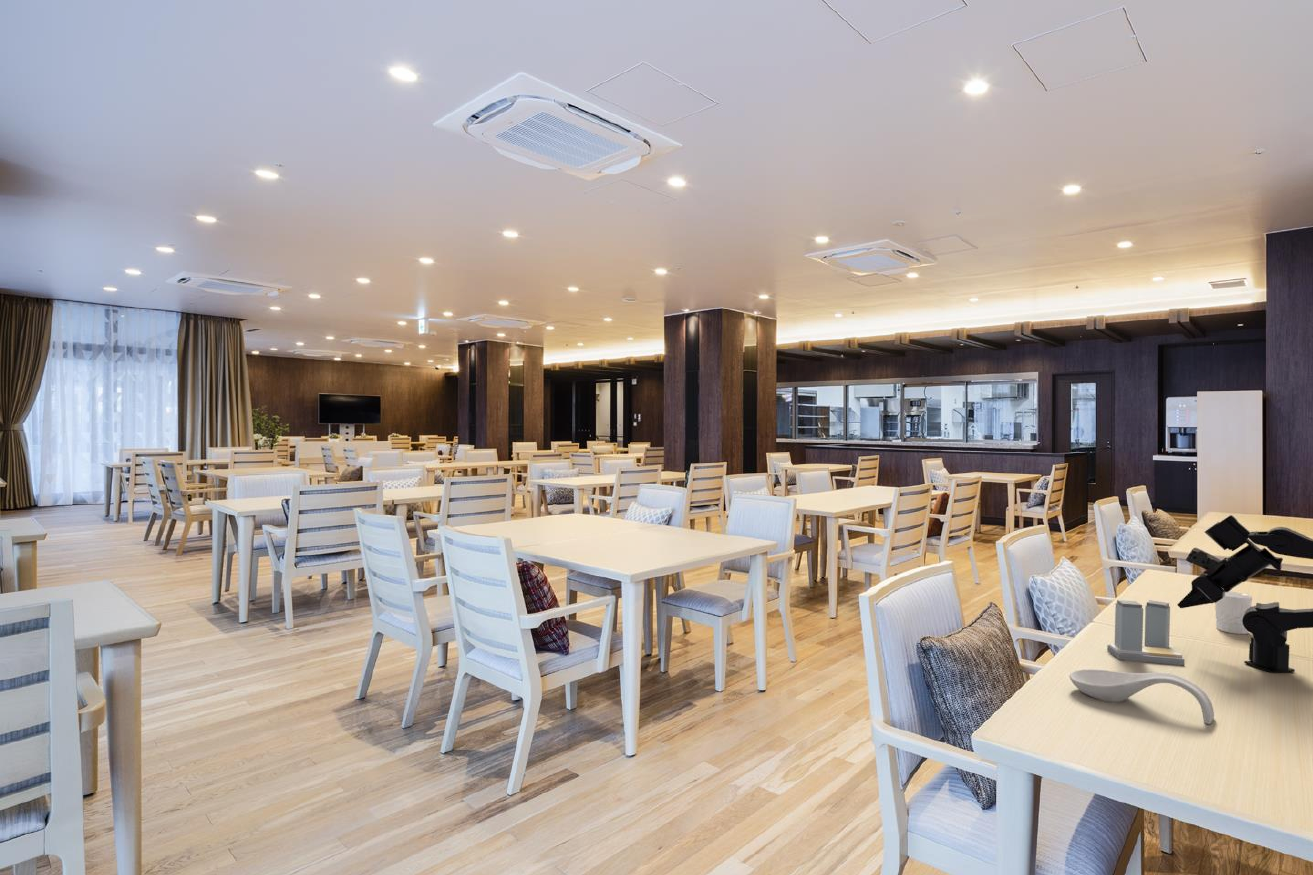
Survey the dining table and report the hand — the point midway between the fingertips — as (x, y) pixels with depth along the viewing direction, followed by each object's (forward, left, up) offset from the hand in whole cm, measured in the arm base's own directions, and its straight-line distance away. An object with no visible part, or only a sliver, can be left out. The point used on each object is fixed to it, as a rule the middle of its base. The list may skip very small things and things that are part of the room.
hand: (1182, 603), depth 173 cm
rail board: (-4, +14, -12) cm, 18 cm away
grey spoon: (-29, +38, -12) cm, 50 cm away
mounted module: (-3, +17, -10) cm, 20 cm away
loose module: (+4, +3, -12) cm, 13 cm away
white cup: (+15, -30, -12) cm, 36 cm away
